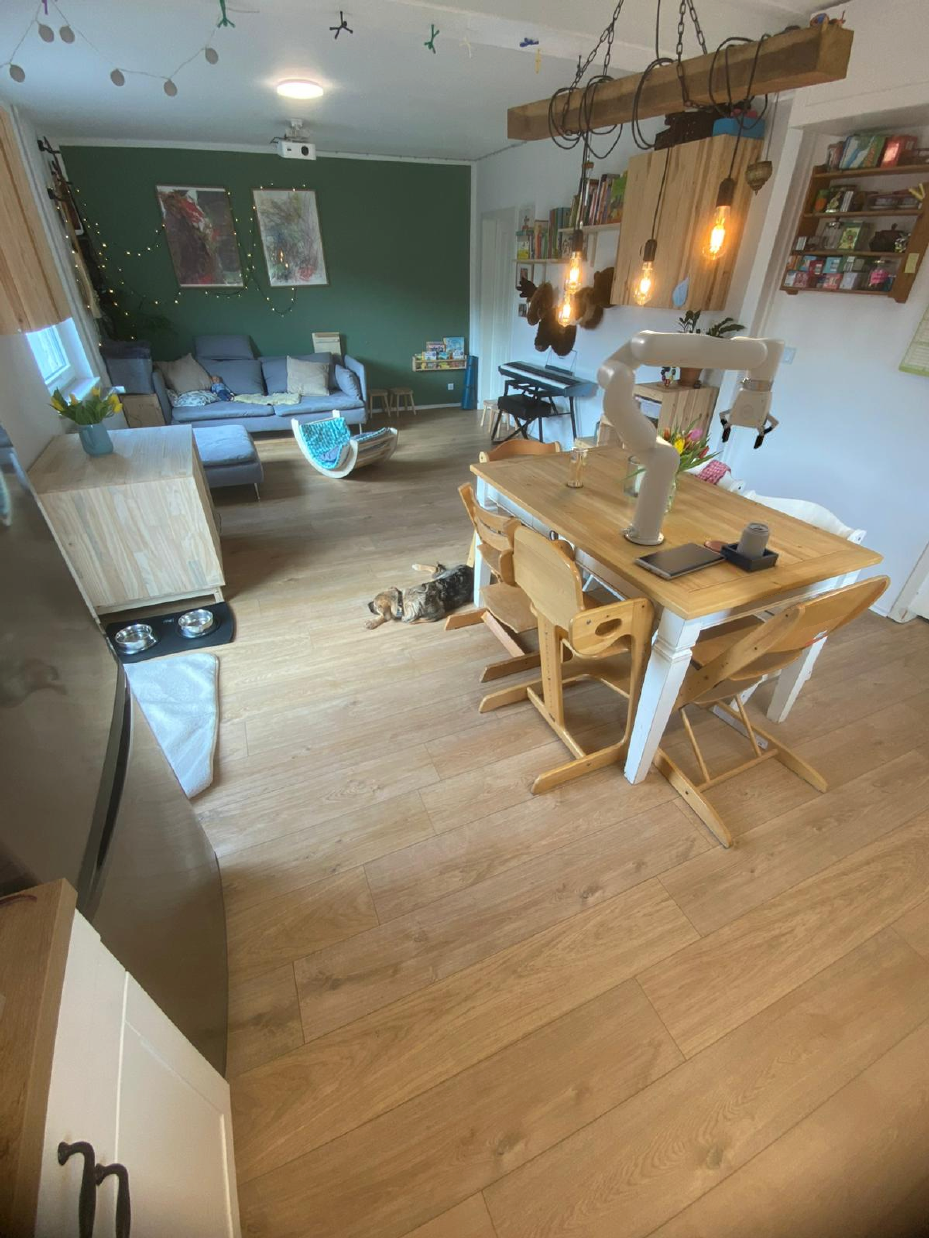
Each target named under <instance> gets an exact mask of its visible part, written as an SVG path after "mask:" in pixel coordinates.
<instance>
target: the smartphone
mask: <svg viewBox="0 0 929 1238" xmlns="http://www.w3.org/2000/svg"><path fill="white" fill-rule="evenodd" d="M725 558H726V557H725V556H723V555H721V554H720V552H715V551H712V550H710V549H708V548H707V547H706V546H703V545H701V544H699V543H697V542H695V541H689V542H686V543H682V544H680V545H675V546H673V547H670V548H666V549H663V550H659V551H656V552H654V553H650V554H646V555H644V556H640V557H637V558H635V561H634V563H635V564H637V565H638V566H641V567H642V568H644V569H646V570H648V571H650V572H652V573H654V574H655V575H657V576H659V577H661V578H662V579H665V580H671V579H674V578H677V577H681V576H684V575H687V574H689V573H692V572H695V571H698V570H701V569H704V568H707V567H710V566H713V565H715V564H717V563H718V564H719V563H721V562H724V561H726V560H725Z"/></svg>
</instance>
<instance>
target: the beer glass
mask: <svg viewBox="0 0 929 1238" xmlns="http://www.w3.org/2000/svg"><path fill="white" fill-rule="evenodd" d="M588 452H589V451H588V449H587V448H586V447H581V446H574V447H572V448H571V450H570V455H569V460H568V461H569V462H568V467H569V469H568V470H569V475H568V481H567V486H568V487H571V488H581V487H582V486H583V475H584V472H585V469H586V465H587V462H588Z"/></svg>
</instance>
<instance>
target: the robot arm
mask: <svg viewBox="0 0 929 1238" xmlns="http://www.w3.org/2000/svg"><path fill="white" fill-rule="evenodd" d="M785 345H786V343H785V340H784V339H782V338H774V337H762V338H753V337H748V336H735V337H732V338H723V337H717V336H711V335H708V334H703V333H677V332H676V333H675V332H674V333H673V332H655V331H652V330H642V331H640V332H638V333H636V334H635V335H633V336H632V337H630V339H628V340H626V342H625V343H623V344H622V345H621V346H620V347H619V348H618V349H617V350H615V351H614V352H613V353H612V354H610V356H609V357H607V358H606V359H604V361H603V362H602V363H601V364H600V366H599V367H598V369H597V372H596V381H597V383H598V385H599V386H600V387H601V389H603V390H604V393H603V395H602V396H603V397H602V410H603V414H604V417H605V418H606V419H607V421H608V422H609V423H610V425H611V426H612V427H613V429H614V430H615V431H616V434H617V437H618V439H619V440H620V442H621V443H622V444H623V445H624V446H625V447H626V448H627V449H628V450H629V451H630V453H632V455H634V457H635V458H636V459H637V460H638V461H639V462H640V463H641V464H642V465H643V466H645V468H646V469H645V471H644V474H643V476H642V478H641V480H640V484H639V489H638V494H637V499H636V503H635V508H634V513H633V518H632V522H631V523H629V526H628V527H626V528H623V529H620V530H619V535H620V536H625V538H626V539H627V540H628V541H630V542H632V543H635V544H639V545H645V546H656V545H659V544H662V543H663V542H664V540H665V536H664V535H663V534H662V533H661V530H662V527H663V523H664V518H665V515H666V510H667V506H668V502H669V498H670V493H671V489H672V486H673V483H674V479H675V477H676V475H677V472H678V471H679V468H680V465H681V455H680V452H679V451H678V448H676V447H675V446H674V445H673V444H671V443H670V442H669V441H667V440H665V439H664V438H663V437H662V436H661V435H660V434H659V433H658V431H657V428H656V426H655V424H654V423H653V422H652V420H650V419H649V418H648V417H647V416H646V414H644V412H643V411H642V410H640V408H639V407H638V405H636V403H635V402H634V400H633V392H634V387H635V384H636V374H635V373H636V372H635V371H636V370H638V369H639V368H640V367H641V366H643V365H644V366H646V367H653V368H654V367H655V368H658V367H660V368H661V367H662V368H689V369H691V368H693V369H708V370H724V371H747V372H746V376H745V377H744V378H743V379H740V380H739V382H738V383H739V385H742V388H740V389H739V390H738V391H737V394H736V395H735V398H734V400H733V403H732V405H731V408H729V409H726V410H723V411H720V412H719V413H718V416H719V420H720V421H719V422H720V424H721V426H722V429H723V432H722V436H721V439H722V440H721V443H723V444H724V443H727V442H728V441H729V438H730V436H731V432H732V428H731V427H732V426H736V427H737V426H738V427H743V428H749V429H754V430H755V429H756V430H757V432H758V435H756V438H755V441H754V445H753V449H754V450H757V449H759V448H760V447H762V445H763V443H764V439H765V436H766V435H767V434H769V433H771V432H772V431H773V430H774V429H775V428H776V427H777V426H778V425H779V424H780V421H779V420H778V419H777V418H775V417H774V416H773V415H771V413H770V411H771V407H772V401H773V391H772V388H773V385H774V383H775V379H776V375H777V372H778V369H779V365H780V362H781V359H782V356H783V353H784V350H785ZM727 415H728V418H726V416H727ZM767 422H769V423H770V425H769V426H768V427H767V428H766V424H767Z"/></svg>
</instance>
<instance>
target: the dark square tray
mask: <svg viewBox="0 0 929 1238" xmlns="http://www.w3.org/2000/svg"><path fill="white" fill-rule="evenodd" d="M738 544H739V541H736V542H732V543H728V544H727V545H722V548H721V551H720V552H719V554H721V555H723V556H725V557H726V558H725V560H724V561H725V562H727V563H730V564H732V565H733V566H735V567H737V568H739V569H741V570H743V571H745V572H746V573H753V572H756V571H760V570H764V569H768V568H772V567H775V566H776V564H777V561H778V559H779V557H780V556H779V555H780V553H777V552H775V551H774V550H771V549H769V548H767V547H765V550H764V553H763V555H762V557H758V558H754V559H751V558H749V557H747V556H745V555H743V554H741V553H739V552H737V551H736V550H737V547H738Z"/></svg>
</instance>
